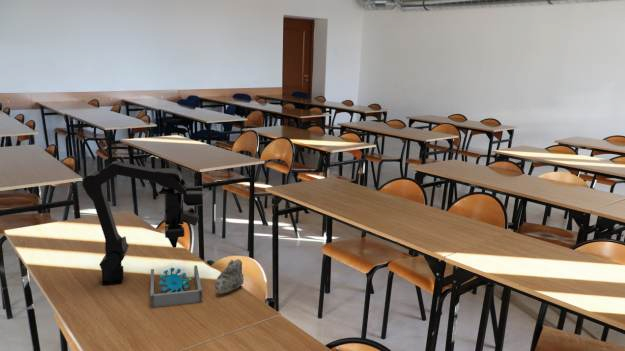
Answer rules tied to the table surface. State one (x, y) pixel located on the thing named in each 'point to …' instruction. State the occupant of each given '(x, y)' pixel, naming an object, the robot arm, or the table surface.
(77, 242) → the table surface
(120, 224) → the table surface
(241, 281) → the mineral rock
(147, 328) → the table surface
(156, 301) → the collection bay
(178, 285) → the gear
